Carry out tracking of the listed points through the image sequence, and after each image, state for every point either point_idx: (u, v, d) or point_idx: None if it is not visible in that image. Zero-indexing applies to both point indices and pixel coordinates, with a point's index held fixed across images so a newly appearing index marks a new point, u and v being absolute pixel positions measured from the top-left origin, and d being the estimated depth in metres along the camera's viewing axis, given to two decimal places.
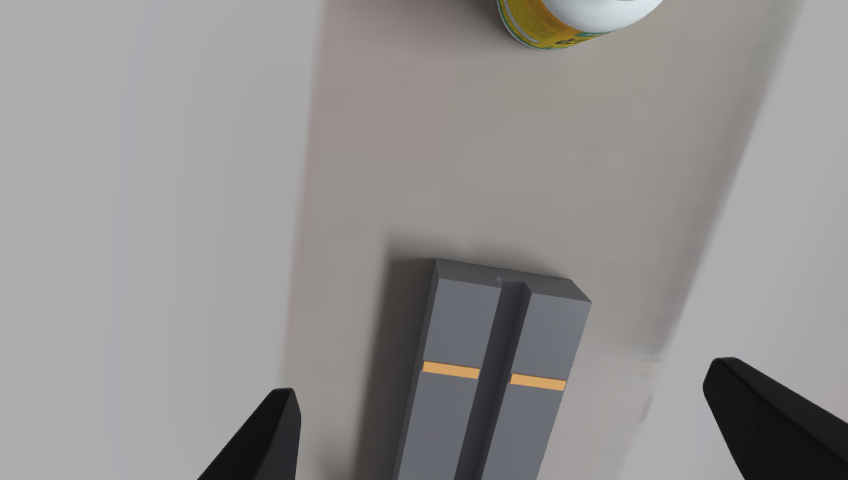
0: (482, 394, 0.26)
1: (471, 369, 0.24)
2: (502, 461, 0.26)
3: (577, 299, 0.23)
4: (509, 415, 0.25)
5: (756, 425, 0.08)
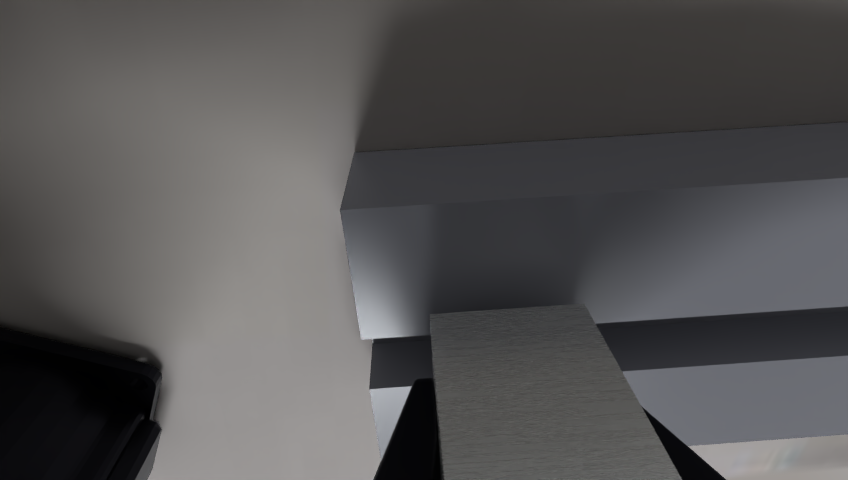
0: None
1: None
2: (749, 387, 0.11)
3: None
4: None
5: None
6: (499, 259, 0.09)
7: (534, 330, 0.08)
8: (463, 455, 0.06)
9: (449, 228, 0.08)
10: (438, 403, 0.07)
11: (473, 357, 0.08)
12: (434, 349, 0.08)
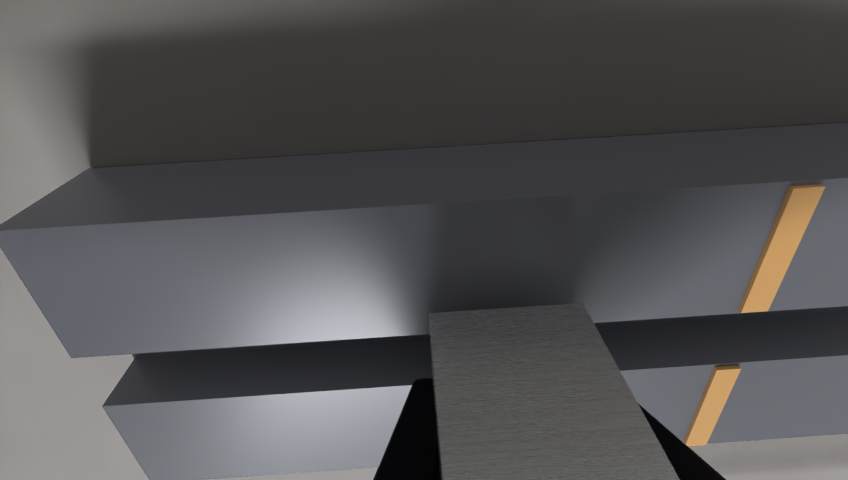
0: None
1: (765, 294, 0.10)
2: None
3: None
4: None
5: None
6: (179, 279, 0.09)
7: (532, 329, 0.08)
8: (462, 453, 0.06)
9: (112, 249, 0.08)
10: (437, 402, 0.07)
11: (472, 356, 0.08)
12: (433, 348, 0.08)
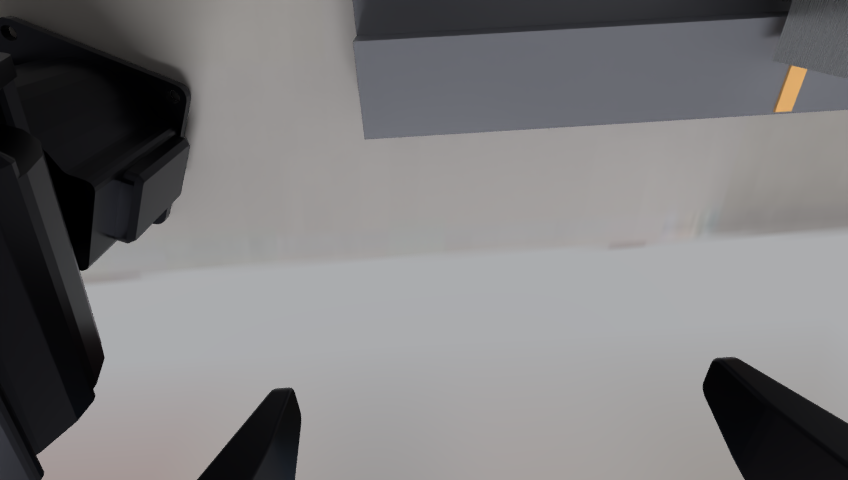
0: None
1: None
2: (642, 55, 0.15)
3: None
4: (737, 39, 0.15)
5: (756, 425, 0.08)
6: None
7: None
8: None
9: None
10: None
11: None
12: None
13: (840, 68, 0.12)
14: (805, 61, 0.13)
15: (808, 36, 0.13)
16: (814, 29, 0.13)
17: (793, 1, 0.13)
